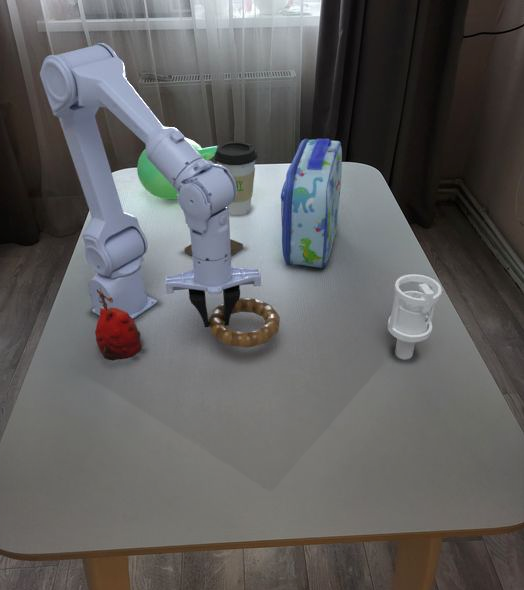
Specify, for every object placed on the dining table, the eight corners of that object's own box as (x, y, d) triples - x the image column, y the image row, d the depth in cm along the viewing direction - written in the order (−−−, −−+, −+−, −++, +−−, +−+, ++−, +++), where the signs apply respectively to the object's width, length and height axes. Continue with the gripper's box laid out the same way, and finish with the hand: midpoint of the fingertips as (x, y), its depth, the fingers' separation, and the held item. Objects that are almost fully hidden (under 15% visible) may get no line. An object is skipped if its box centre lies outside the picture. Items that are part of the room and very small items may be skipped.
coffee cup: (211, 204, 137) (207, 144, 127) (247, 197, 140) (246, 137, 130) (226, 222, 130) (223, 159, 120) (264, 214, 133) (264, 152, 124)
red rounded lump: (150, 345, 97) (137, 272, 87) (130, 371, 92) (114, 297, 82) (112, 335, 99) (96, 263, 89) (90, 360, 94) (70, 287, 84)
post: (216, 266, 116) (214, 231, 111) (184, 253, 120) (181, 218, 115) (243, 248, 121) (242, 214, 116) (212, 236, 126) (209, 202, 120)
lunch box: (295, 213, 133) (298, 125, 120) (339, 218, 132) (348, 128, 118) (275, 273, 114) (276, 175, 100) (327, 278, 113) (336, 180, 99)
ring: (250, 360, 86) (250, 348, 85) (194, 331, 92) (193, 319, 90) (292, 323, 93) (293, 312, 92) (239, 298, 99) (238, 287, 97)
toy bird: (180, 174, 150) (174, 118, 141) (226, 192, 142) (223, 134, 133) (128, 197, 140) (118, 139, 130) (175, 218, 132) (168, 157, 122)
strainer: (393, 370, 92) (409, 297, 82) (376, 344, 97) (388, 271, 87) (432, 363, 94) (451, 289, 84) (412, 337, 99) (429, 265, 89)
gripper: (161, 269, 78) (172, 342, 87) (263, 261, 80) (263, 334, 89) (161, 243, 84) (171, 315, 93) (257, 237, 85) (257, 308, 94)
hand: (216, 322), depth 91 cm, fingers closed on ring, 2 cm apart
